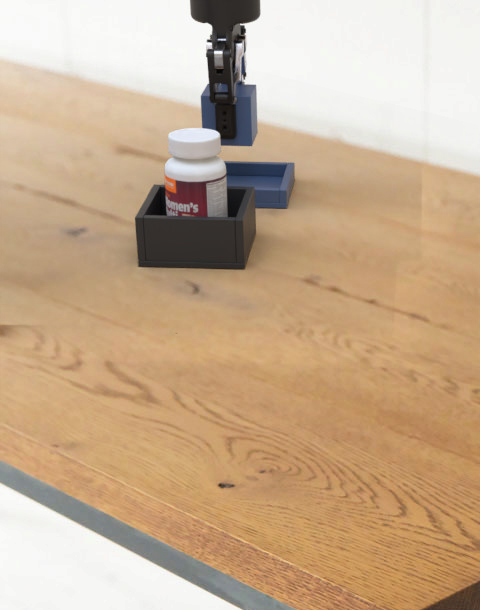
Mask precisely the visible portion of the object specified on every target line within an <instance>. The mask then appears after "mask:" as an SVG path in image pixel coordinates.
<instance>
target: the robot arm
mask: <svg viewBox="0 0 480 610" xmlns="http://www.w3.org/2000/svg"><path fill="white" fill-rule="evenodd" d="M189 9H190V16H191V18H192V20H194V21H195V22H197V23H200V24H209V25H210V26H211V34H209V38H207V39H206V43H205V44H206V47H205V48H206V50H205V51H206V52H205V58H206V60H207V61H206V62H207V63H206V64H207V75H208V84H209V90H210V95H209V100H210V102H211V103H213V105H215V120H216V131H217V132H219V133H220V139H235V137H236V135H237V125H236V102H237V97H236V86H237V84H246V82H245V80H246V77H247V65H248V63H247V53H246V52H247V46H248V39H247V35H246V33H247V28H246V26H245V24H250V23H253V22H255V21H258V19H259V18H260V17H261V0H189ZM219 84H227V86H228V92H219Z"/></svg>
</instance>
